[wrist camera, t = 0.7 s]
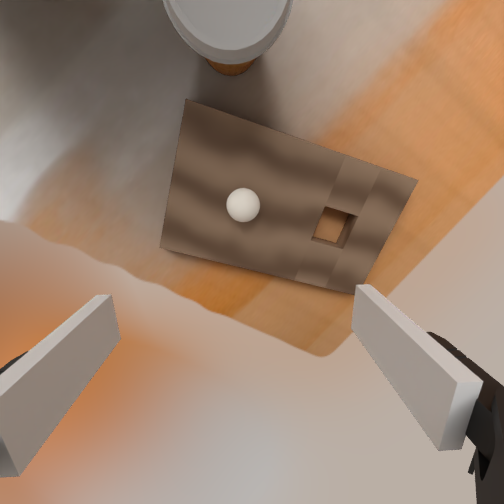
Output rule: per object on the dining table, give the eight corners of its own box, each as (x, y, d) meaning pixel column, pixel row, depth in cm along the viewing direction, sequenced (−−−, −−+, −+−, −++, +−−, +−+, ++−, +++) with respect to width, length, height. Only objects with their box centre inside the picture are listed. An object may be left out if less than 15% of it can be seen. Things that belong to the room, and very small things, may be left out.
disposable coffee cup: (275, -14, 26) (308, -136, 14) (270, 94, 29) (292, 62, 18) (182, -21, 25) (140, -156, 14) (188, 90, 29) (160, 54, 17)
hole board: (189, 102, 29) (185, 98, 27) (406, 178, 34) (418, 180, 32) (164, 241, 35) (159, 247, 33) (349, 287, 41) (356, 295, 38)
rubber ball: (231, 181, 30) (231, 186, 27) (262, 191, 31) (266, 196, 27) (223, 212, 32) (222, 221, 28) (253, 220, 32) (255, 230, 29)
